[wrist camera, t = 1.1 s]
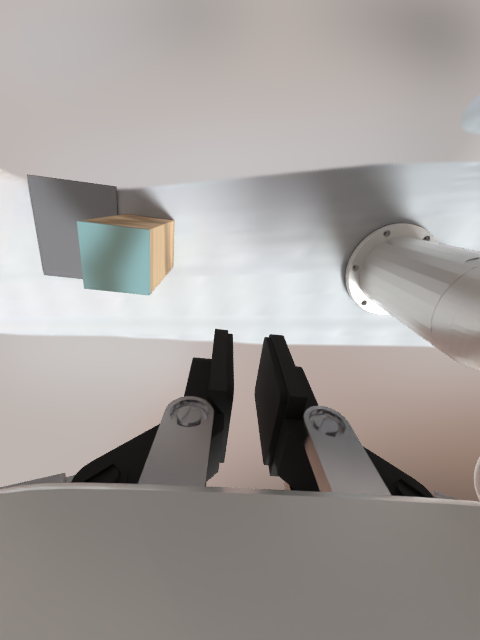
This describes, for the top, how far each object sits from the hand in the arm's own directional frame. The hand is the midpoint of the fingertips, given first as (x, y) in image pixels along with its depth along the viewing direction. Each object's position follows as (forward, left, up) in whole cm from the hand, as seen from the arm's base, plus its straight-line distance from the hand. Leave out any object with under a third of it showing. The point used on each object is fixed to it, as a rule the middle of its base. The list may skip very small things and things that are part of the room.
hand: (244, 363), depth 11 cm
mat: (+20, 0, -27) cm, 34 cm away
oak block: (+11, 0, -27) cm, 29 cm away
